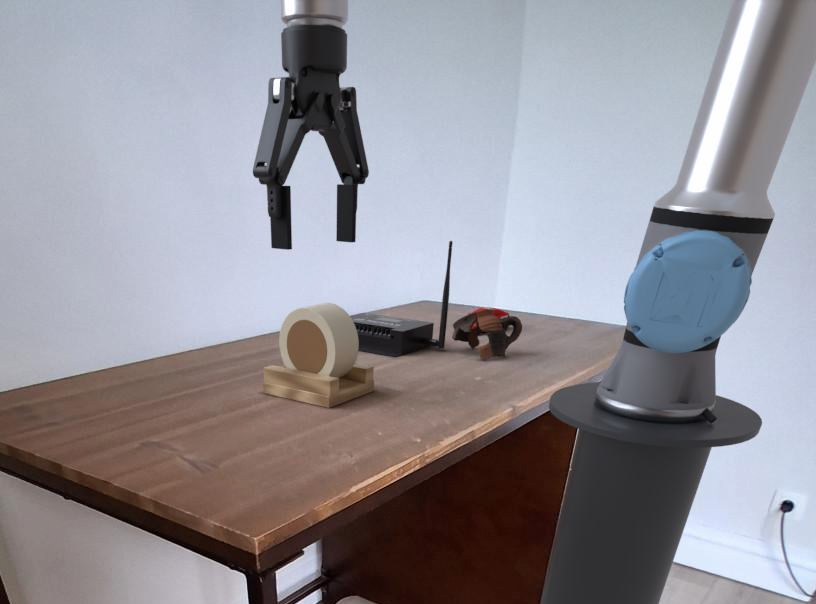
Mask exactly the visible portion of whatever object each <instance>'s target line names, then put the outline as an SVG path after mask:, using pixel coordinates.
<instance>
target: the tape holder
mask: <svg viewBox="0 0 816 604" xmlns="http://www.w3.org/2000/svg"><path fill="white" fill-rule="evenodd" d="M374 369H375V368H374V365H368V364H363V363H358V362H355V364H354V366H353V367H352V369H351V370H350V371H349V372H348V373H347V374H346V375H344V376H342V377H339V378H335V377H330V376H325V375H320V374H315V373H310V372H305V371H300V370H295V369H290V368H286V366H285V367H284V366H279V365H274V364H272V365H268V366H265V367H263V382H262V387H263V388H262V391H263V392H262V393H263V394H265V395H270V396H275V397H278V398H283V399H288V400H292V401H296V402H301V403H306V404H310V405H315V406H318V407H323V408H327V409H330V408H332V407H336V406H337V405H338V406H339V405H340V404H343V403H346V402H349V401H351V400H353V399H356V398H358V397H362V396H364V395H366V394H369V393H372V392H374V391H375V380H374V373H375V372H374V371H375V370H374Z"/></svg>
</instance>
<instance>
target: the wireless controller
mask: <svg viewBox="0 0 816 604" xmlns="http://www.w3.org/2000/svg"><path fill="white" fill-rule="evenodd" d="M452 251H453V240H449V241H448V251H447V262H446V271H445V278H444V284H443V291H442V299H441V311H440V321H439V322H440V323H439V331H438V339H435V338H434V337H433V336H434V325H435V323H434V322H432V321H431V322H430V321H422V320H418V319H409V318H403V317H395V316H387V315H383V314H382V315H381V314H375V313H374V314H373V313H367V312H361V313H357V314H351V315H349V316H350V317H351V319H352V320H353V322H354V325H355V327H356V330H357V334H358V340H359V349H358V352H359V351H360V352H366V353H370V354H376V355H380V356H381V355H382V356H386V357H392V358H394V357H395V358H396V357H399V356H403V355H406V354H409V353H412V352H416V351H418V350H421V349H424V348H425V349H426V348H428V347H437V348H438V349H440V350H442V349H444V350H445V343H446V334H447V333H446V332H447V322H448V312H449V302H450V288H451V287H450V284H451V283H450V282H451V263H452V255H453V252H452Z"/></svg>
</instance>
